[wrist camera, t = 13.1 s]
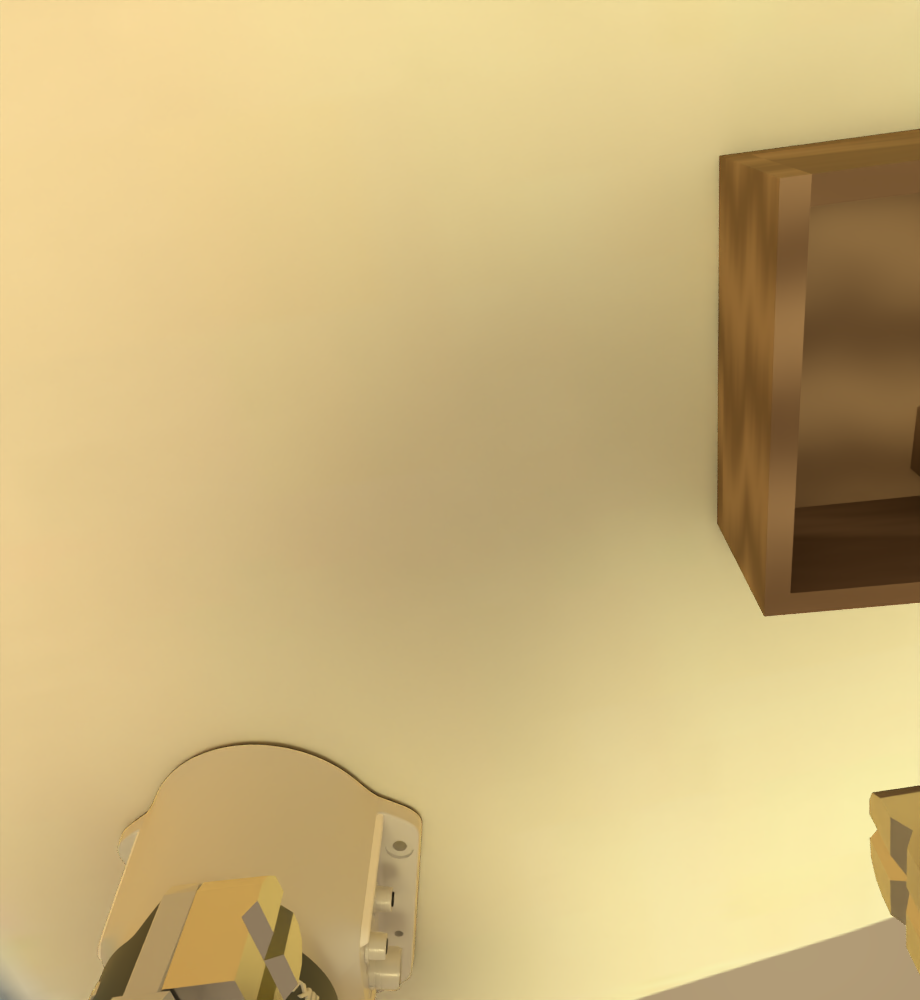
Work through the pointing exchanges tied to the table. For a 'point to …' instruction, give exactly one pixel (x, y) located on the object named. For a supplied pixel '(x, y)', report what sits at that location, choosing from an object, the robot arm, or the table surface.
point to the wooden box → (821, 372)
